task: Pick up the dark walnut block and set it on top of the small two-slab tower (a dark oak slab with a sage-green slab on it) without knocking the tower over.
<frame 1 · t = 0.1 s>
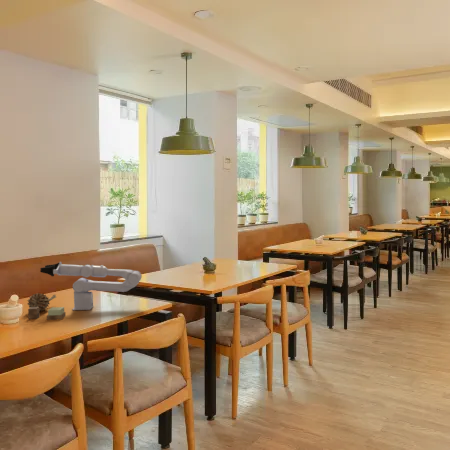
hand: (42, 268, 254), 22 cm above the table, tool horizontal, fingers open, 7 cm apart
slab bottom: (56, 318, 238), on the table, touching slab top
walnut block: (34, 318, 238), on the table
slab top: (56, 313, 238), point 2 cm above the table, touching slab bottom
pine cone: (43, 310, 255), on the table
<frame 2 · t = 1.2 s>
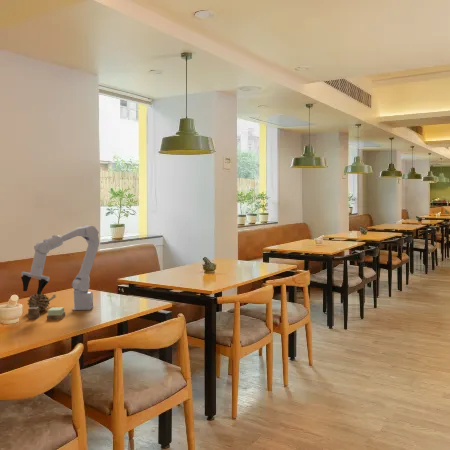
hand: (31, 292, 240), 12 cm above the table, tool tilted 15°, fingers open, 7 cm apart
slab bottom: (56, 318, 238), on the table
slab top: (56, 313, 237), point 2 cm above the table
everything else where it was.
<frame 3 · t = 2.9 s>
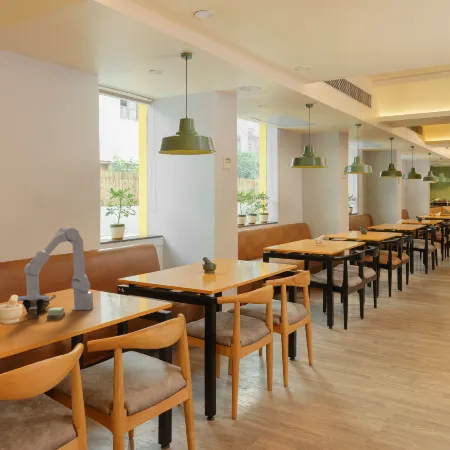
hand: (34, 315, 238), 1 cm above the table, tool pointing down, fingers closed on walnut block, 4 cm apart
slab bottom: (56, 318, 238), on the table, touching slab top
walnut block: (34, 317, 238), on the table, touching gripper
slab top: (56, 313, 238), point 2 cm above the table, touching slab bottom
everything else where it was.
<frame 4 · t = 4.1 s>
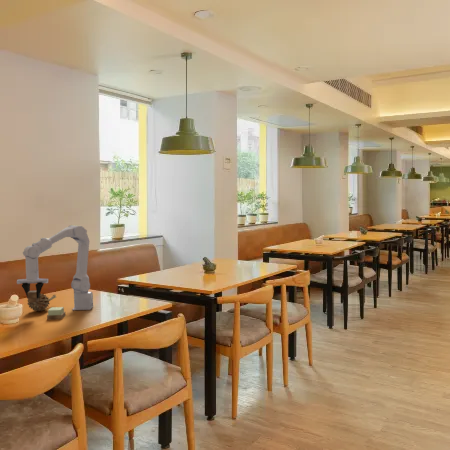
hand: (33, 298, 238), 10 cm above the table, tool pointing down, fingers closed on walnut block, 4 cm apart
walnut block: (33, 301, 238), point 8 cm above the table, touching gripper
everything else where it was.
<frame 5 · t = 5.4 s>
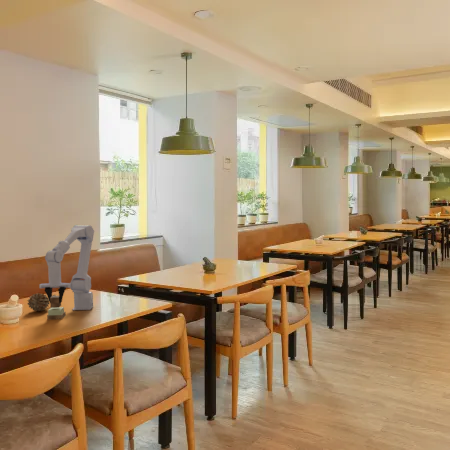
hand: (55, 302, 237), 8 cm above the table, tool pointing down, fingers closed on walnut block, 4 cm apart
walnut block: (55, 306, 237), point 6 cm above the table, touching gripper
everything else where it was.
when the fingers open (8 cm above the table, at t = 5.8 s): walnut block stays where it is, resting on slab top.
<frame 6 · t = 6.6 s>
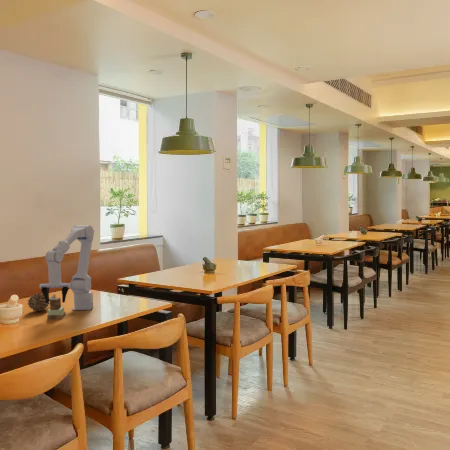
hand: (55, 302, 237), 8 cm above the table, tool pointing down, fingers open, 7 cm apart
walnut block: (55, 308, 238), point 4 cm above the table, touching slab top
slab top: (56, 313, 238), point 2 cm above the table, touching slab bottom, walnut block
everything else where it was.
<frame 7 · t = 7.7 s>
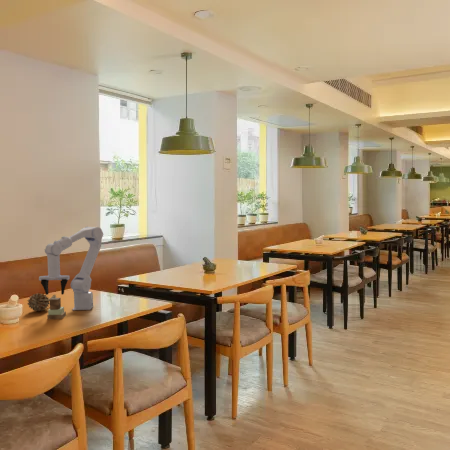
hand: (54, 294, 243), 10 cm above the table, tool pointing down, fingers open, 7 cm apart
walnut block: (55, 308, 238), point 4 cm above the table
slab top: (56, 313, 239), point 2 cm above the table, touching slab bottom
everything else where it was.
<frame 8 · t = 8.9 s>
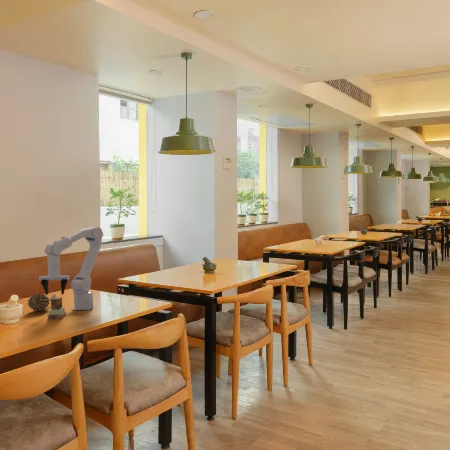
hand: (54, 294, 243), 10 cm above the table, tool pointing down, fingers open, 7 cm apart
slab bottom: (57, 318, 239), on the table
walnut block: (56, 308, 238), point 4 cm above the table, touching slab top
slab top: (56, 313, 239), point 2 cm above the table, touching walnut block
everything else where it was.
at the end: walnut block 0.4 cm off-centre on the slab top, point 2.5 cm above the slab top's base; walnut block tilted 0°; slab top moved 1.1 cm from its start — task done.
